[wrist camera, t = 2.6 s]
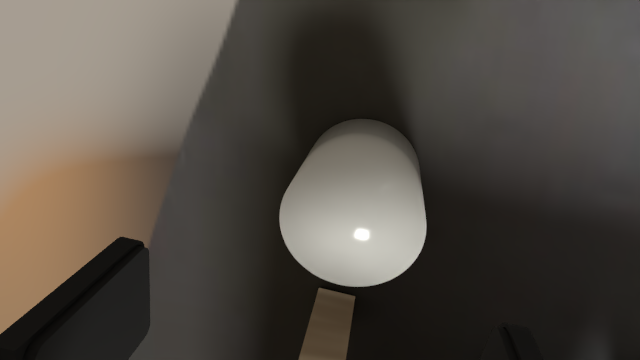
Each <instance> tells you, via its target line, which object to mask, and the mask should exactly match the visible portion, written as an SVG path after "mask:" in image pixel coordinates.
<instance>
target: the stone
mask: <svg viewBox="0 0 640 360" xmlns="http://www.w3.org/2000/svg"><path fill="white" fill-rule="evenodd" d="M279 221H280V229H281V233H282V236H283V239H284V241H285V244H286V246H287V247H288V249H289V251H290V252H291V254H292V255H293V256H294V258H295V259H296V260H297V261H298V262H299V263H300V264H301V265H302V266H303V267H304V268H305V269H307V270H308V271H310V272H311V273H312V274H314V275H316V276H318V277H319V278H321V279H324V280H326V281H329V282H331V283H335V284H338V285H344V286H352V287H365V286H373V285H377V284H381V283H384V282H386V281H389V280H391V279H393V278H395V277H397V276H399V275H400V274H401V273H403V272H404V271H405V270H407V269H408V268H409V267H410V266H411V265H412V264H413V262H414V261H415V260H416V258H417V257H418V255H419V253H420V252H421V250H422V247H423V245H424V241H425V237H426V227H427V225H426V214H425V207H424V199H423V191H422V183H421V176H420V168H419V162H418V158H417V155H416V153H415V150H414V149H413V147H412V145H411V144H410V142H409V141H408V140H407V138H406V137H405V136H404V135H403V134H402V133H400V132H399V131H398V130H396V129H395V128H393V127H391V126H390V125H388V124H385V123H383V122H380V121H376V120H371V119H353V120H348V121H344V122H341V123H339V124H336V125H335V126H333V127H331V128H330V129H328V130H327V131H326V132H324V133H323V134H322V135H321V136H320V137H319V139H318V140H317V141H316V143H315V144H314V146H313V148H312V149H311V151H310V152H309V154H308V156H307V157H306V159H305V161H304V162H303V164H302V165H301V167H300V169H299V170H298V172H297V174H296V175H295V177H294V179H293V180H292V182H291V183H290V185H289V187H288V188H287V190H286V192H285V194H284V196H283V199H282V202H281V207H280V215H279Z"/></svg>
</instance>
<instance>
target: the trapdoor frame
mask: <svg viewBox="0 0 640 360" xmlns="http://www.w3.org/2000/svg"><path fill="white" fill-rule="evenodd" d="M354 302H355V296H352V295H348V294H344V293H340V292H335V291H331V290H327V289H323V288H319V289H318V292H317V296H316V299H315V303H314V307H313V310H312V314H311V317H310V321H309V324H308V328H307V331H306V335H305V338H304V342H303V345H302V349H301V352H300V356H299V359H298V360H346V355H347V349H348V342H349V335H350V329H351V322H352V315H353V309H354Z"/></svg>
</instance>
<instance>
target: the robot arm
mask: <svg viewBox="0 0 640 360" xmlns="http://www.w3.org/2000/svg"><path fill="white" fill-rule="evenodd" d="M149 326H150V283H149V250H148V248H145V247H144V244H143V242H141V241H138V240H134V239H129V238H125V237H120V238H118V239H116V240H115V241H114V242H113V243H112V244H110V245H109V246H108V247H107V248H106V249H104V250H103V251H102V252H100V253H99V254H98V255H97V256H96V257H94V258H93V259H92V260H91V261H89V262H88V263H87V264H86V265H85V266H84V267H82V268H81V269H80V270H78V271H77V272H76V273H75V274H74V275H72V276H71V277H70V278H69V279H67V280H66V281H65V282H64V283H63V284H61V285H60V286H59V287H58V288H56V289H55V290H54V291H53V292H52V293H50V294H49V295H48V296H47V297H45V298H44V299H43V300H42V301H41V302H39V303H38V304H37V305H36V306H34V307H33V308H32V309H31V310H30V311H28V312H27V313H26V314H25V315H24V316H23V317H21V318H20V319H19V320H17V321H16V322H15V323H14V324H12V325H11V326H10V327H9V328H7V329H6V330H5V331H4V332H3V333H1V334H0V360H128V359H129V357H130V356H131V355H132V353H133V352H134V351H135V350H136V348H137V347H138V346H139V344H140V343H141V342H142V340H143V339H144V338H145V336H146V334H147V332H148V330H149ZM480 360H543V358H542V356H541V354H540V351H539V349H538V347H537V345H536V343H535V341H534V338H533V336H532V334H531V332H530V330H529V329H528V328H526V327H522V326H517V325H513V324H508V323H502V324H501V325H500V327H494V328H493V329H492V331H491V333H490V336H489V338H488V340H487V343H486V345H485V348H484V350H483V352H482V355H481V357H480Z"/></svg>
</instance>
